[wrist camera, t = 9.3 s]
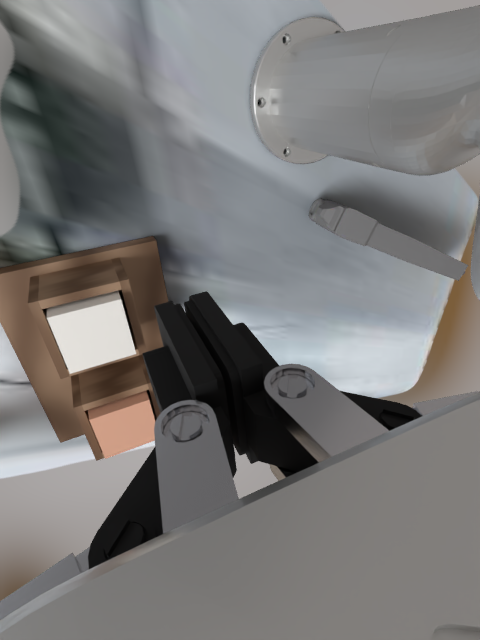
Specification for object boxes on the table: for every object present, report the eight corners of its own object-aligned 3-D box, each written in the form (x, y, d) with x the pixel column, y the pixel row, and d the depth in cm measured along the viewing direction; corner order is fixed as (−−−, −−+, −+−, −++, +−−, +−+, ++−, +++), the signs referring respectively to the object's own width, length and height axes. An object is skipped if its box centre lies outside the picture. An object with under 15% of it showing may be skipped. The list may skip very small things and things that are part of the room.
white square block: (113, 276, 37) (121, 299, 33) (127, 327, 40) (136, 354, 36) (46, 292, 35) (46, 318, 31) (67, 344, 38) (69, 373, 34)
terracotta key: (139, 371, 43) (149, 399, 39) (150, 408, 46) (160, 438, 43) (85, 388, 41) (89, 420, 37) (100, 426, 45) (105, 458, 41)
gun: (298, 187, 53) (326, 196, 40) (443, 251, 58) (514, 279, 44) (288, 209, 54) (313, 225, 41) (432, 270, 59) (497, 303, 45)
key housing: (152, 235, 40) (169, 259, 34) (184, 391, 52) (201, 427, 46) (-20, 272, 35) (-32, 306, 29) (60, 433, 47) (61, 479, 41)
